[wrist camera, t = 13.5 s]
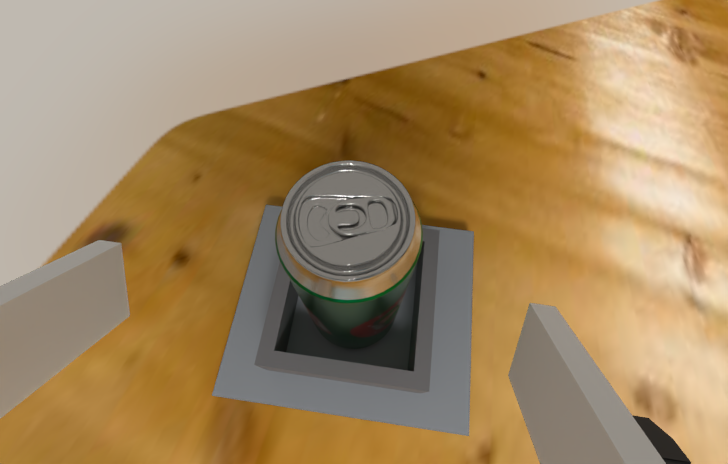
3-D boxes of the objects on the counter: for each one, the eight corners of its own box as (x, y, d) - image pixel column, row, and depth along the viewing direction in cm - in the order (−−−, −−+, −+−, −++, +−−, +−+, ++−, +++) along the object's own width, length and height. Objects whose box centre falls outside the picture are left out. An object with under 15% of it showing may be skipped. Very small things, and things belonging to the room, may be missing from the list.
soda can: (308, 272, 24) (264, 159, 13) (388, 262, 24) (411, 142, 13) (316, 356, 22) (271, 305, 11) (403, 343, 22) (444, 281, 11)
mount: (469, 237, 26) (487, 210, 22) (464, 434, 21) (485, 440, 17) (269, 211, 27) (254, 180, 23) (218, 395, 22) (189, 393, 18)
